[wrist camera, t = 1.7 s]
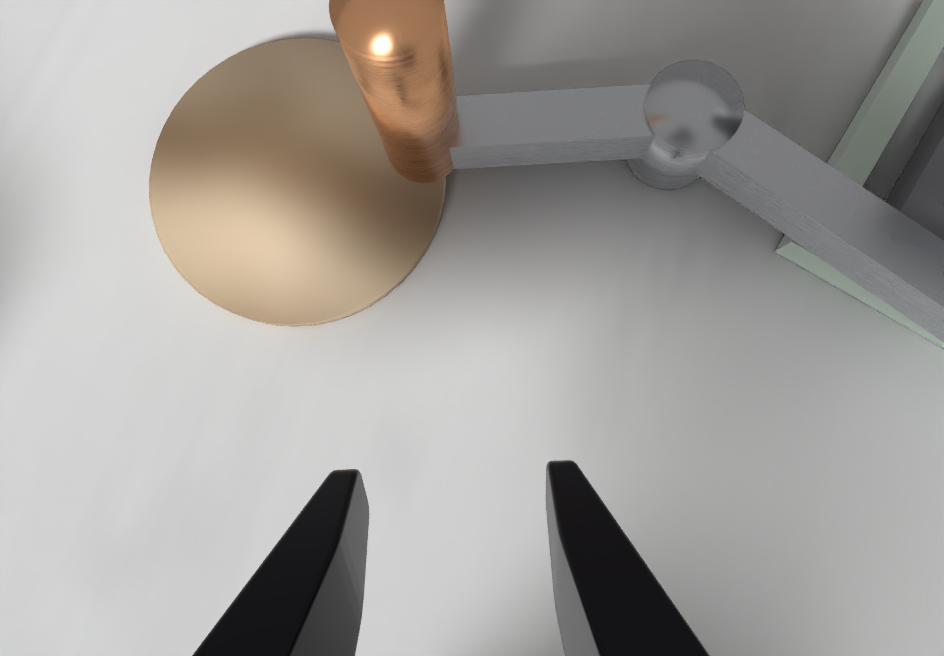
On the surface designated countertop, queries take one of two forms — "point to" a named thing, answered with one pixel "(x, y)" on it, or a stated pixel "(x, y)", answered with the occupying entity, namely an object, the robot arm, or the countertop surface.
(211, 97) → the coaster
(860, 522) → the countertop surface
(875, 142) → the socket frame
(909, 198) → the plug
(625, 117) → the grey rod with hub
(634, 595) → the robot arm
